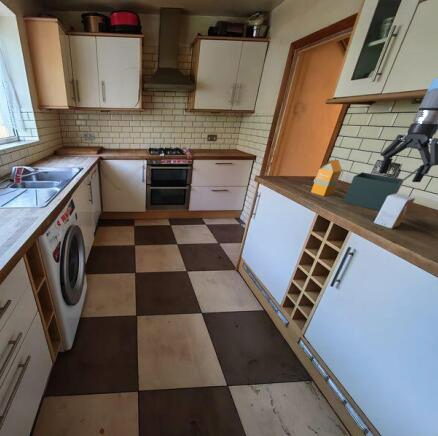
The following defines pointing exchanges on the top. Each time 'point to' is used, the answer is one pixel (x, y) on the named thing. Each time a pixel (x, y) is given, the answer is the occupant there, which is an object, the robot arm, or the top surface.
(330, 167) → the orange juice
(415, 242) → the top surface
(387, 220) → the small box
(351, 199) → the dark green open bin
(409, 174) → the flap
